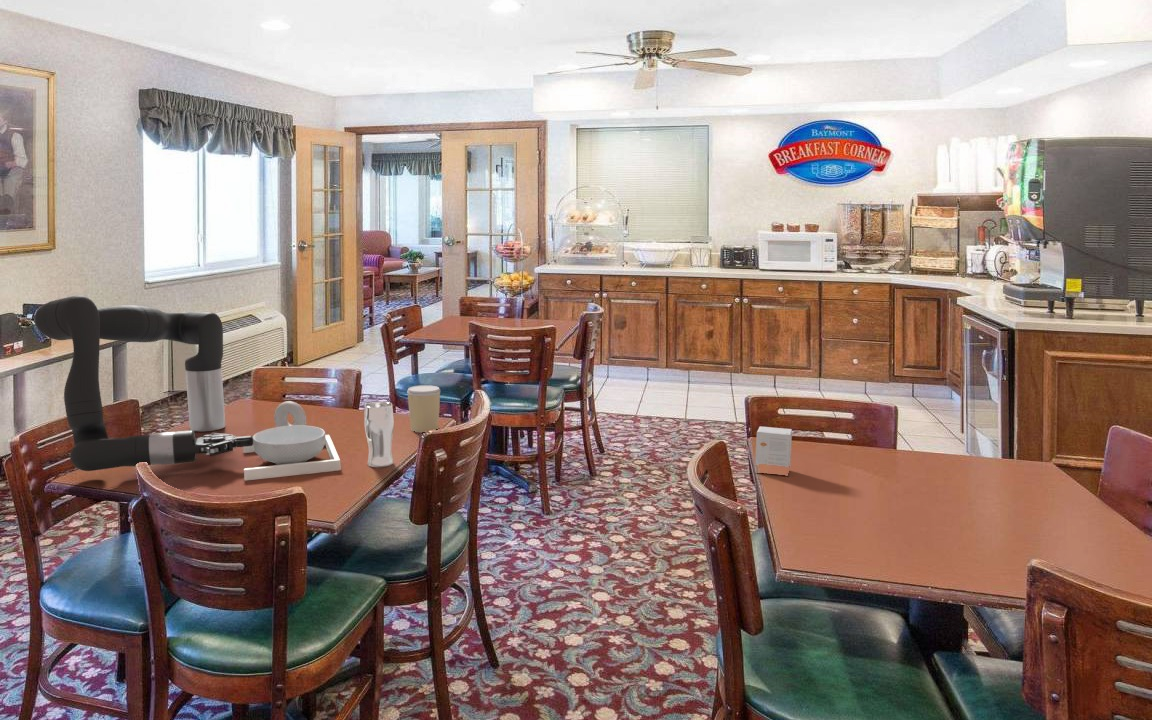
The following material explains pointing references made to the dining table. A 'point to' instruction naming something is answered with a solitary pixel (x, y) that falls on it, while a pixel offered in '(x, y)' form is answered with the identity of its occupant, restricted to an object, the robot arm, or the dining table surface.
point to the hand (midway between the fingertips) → (252, 440)
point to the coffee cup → (424, 407)
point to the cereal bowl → (289, 443)
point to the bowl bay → (294, 465)
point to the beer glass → (379, 433)
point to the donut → (290, 408)
